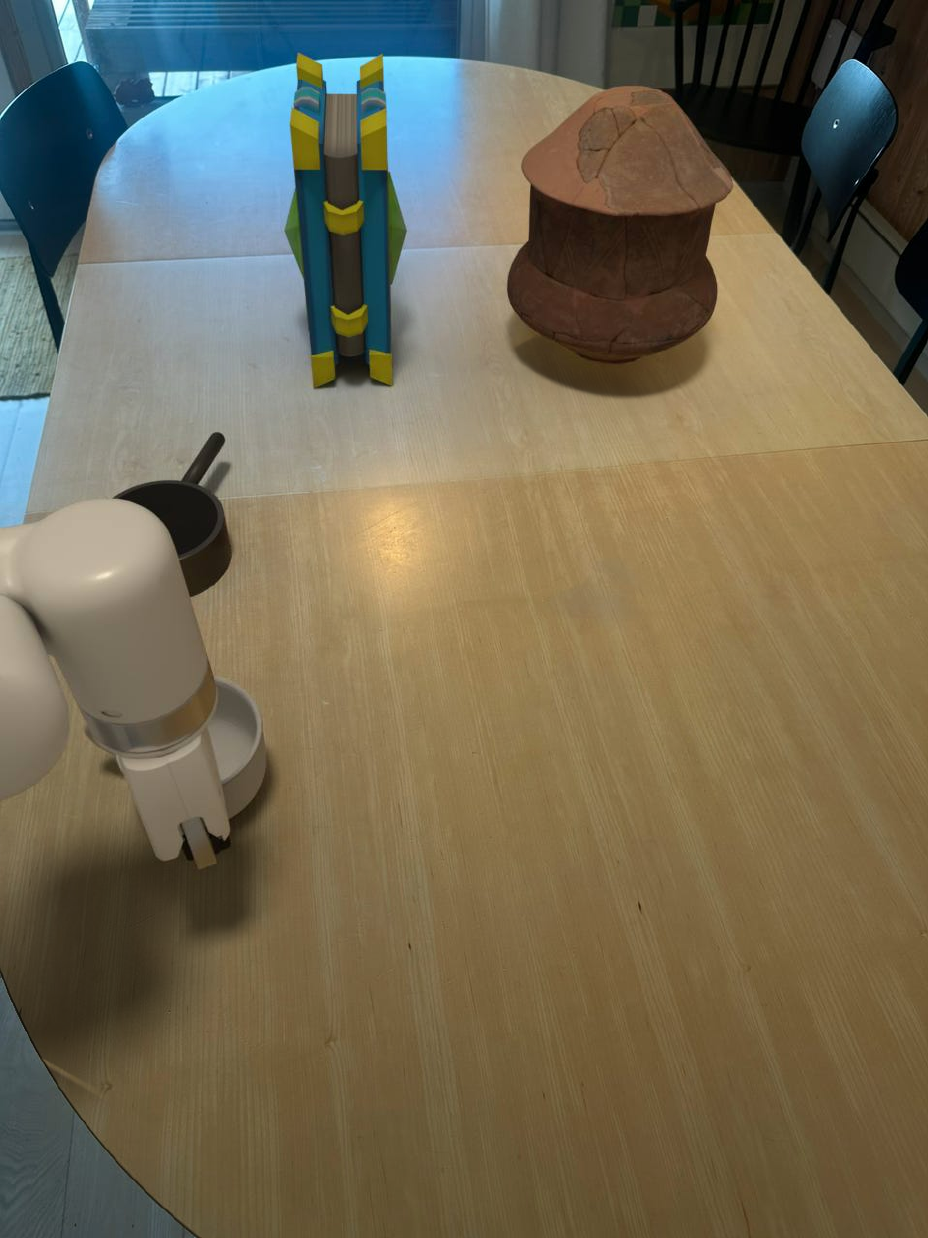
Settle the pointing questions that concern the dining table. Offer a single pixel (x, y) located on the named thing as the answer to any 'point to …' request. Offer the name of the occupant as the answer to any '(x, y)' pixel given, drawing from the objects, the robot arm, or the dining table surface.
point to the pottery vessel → (619, 228)
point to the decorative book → (344, 218)
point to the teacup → (233, 744)
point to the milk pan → (191, 519)
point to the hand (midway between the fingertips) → (207, 845)
